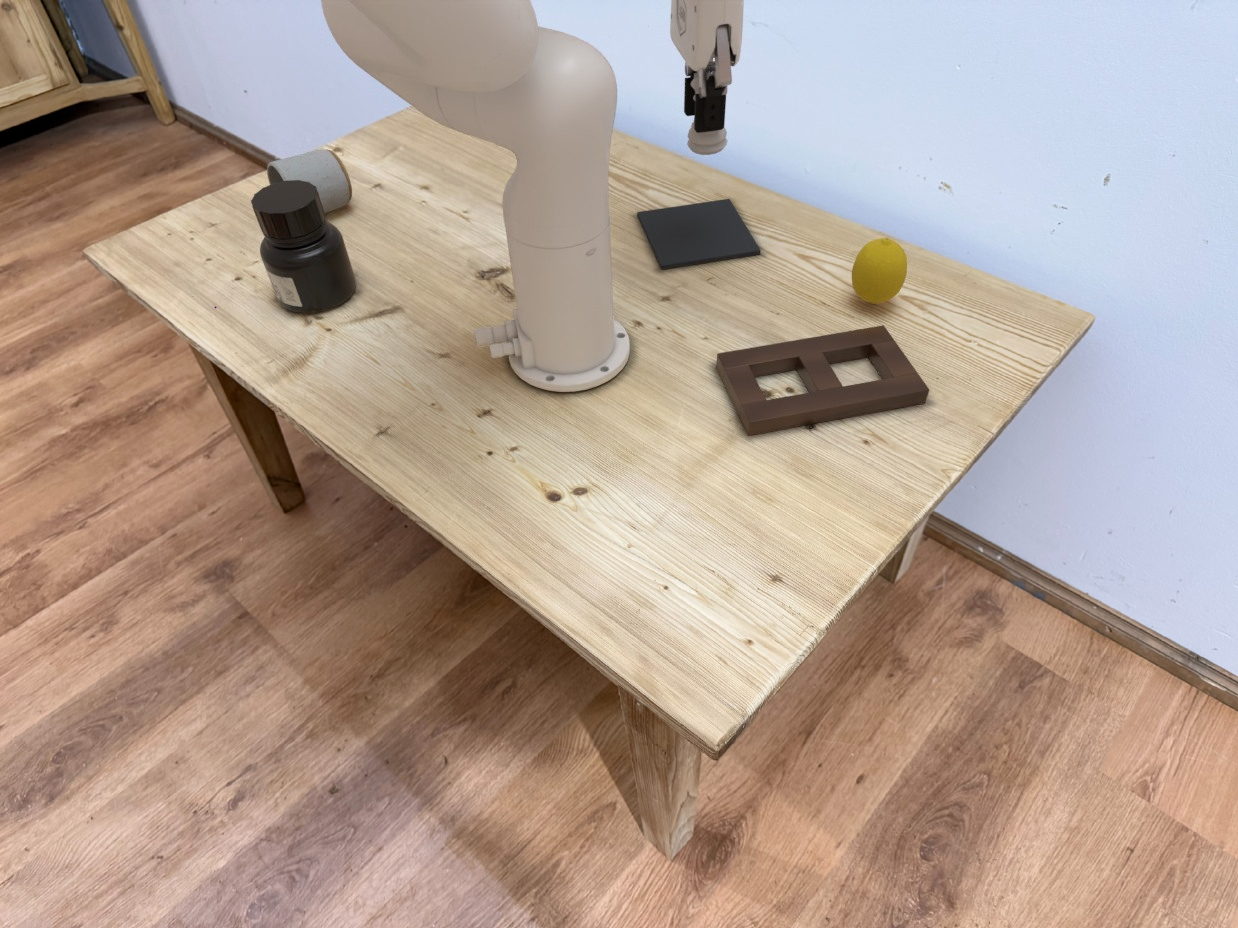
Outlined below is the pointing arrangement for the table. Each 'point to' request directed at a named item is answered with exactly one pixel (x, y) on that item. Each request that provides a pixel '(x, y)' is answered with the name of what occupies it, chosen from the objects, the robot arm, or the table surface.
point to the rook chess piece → (706, 140)
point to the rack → (819, 380)
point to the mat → (697, 234)
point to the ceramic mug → (316, 175)
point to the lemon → (879, 270)
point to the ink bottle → (302, 248)
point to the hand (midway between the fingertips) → (703, 120)
